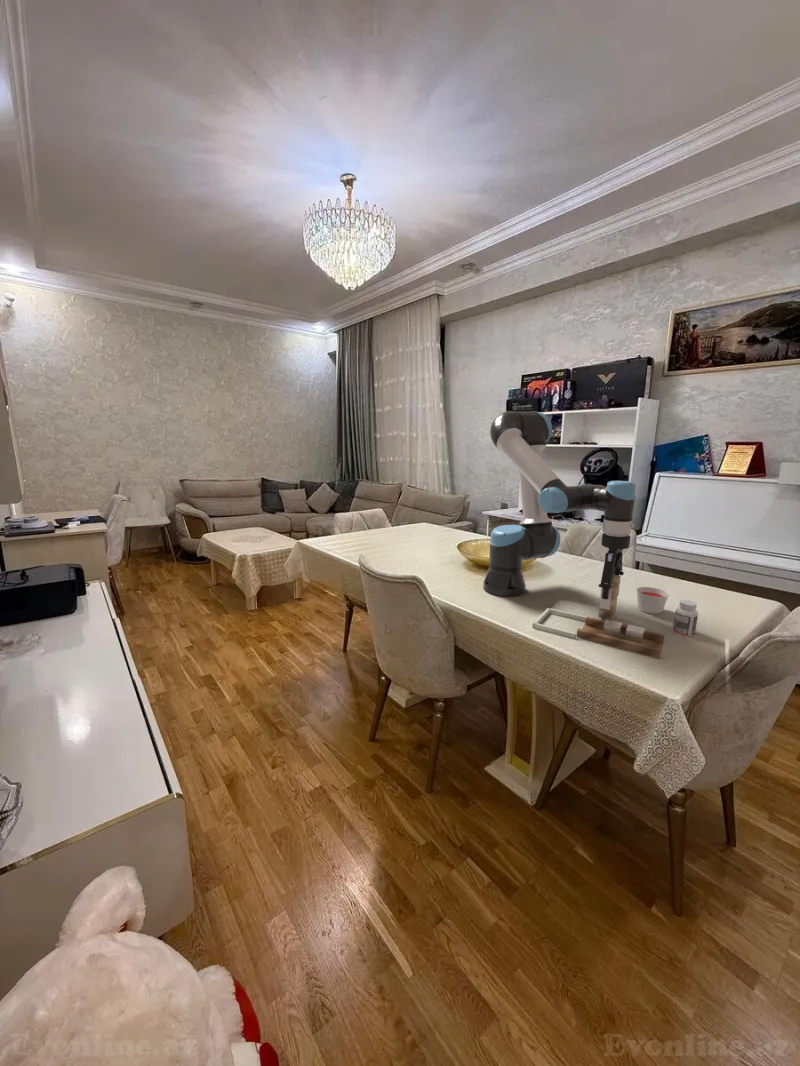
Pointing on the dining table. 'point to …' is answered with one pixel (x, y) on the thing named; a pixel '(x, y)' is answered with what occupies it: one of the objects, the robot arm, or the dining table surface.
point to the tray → (555, 630)
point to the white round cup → (651, 599)
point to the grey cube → (612, 628)
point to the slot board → (622, 638)
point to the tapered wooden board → (610, 613)
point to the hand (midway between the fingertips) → (609, 601)
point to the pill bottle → (685, 618)
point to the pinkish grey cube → (635, 634)
